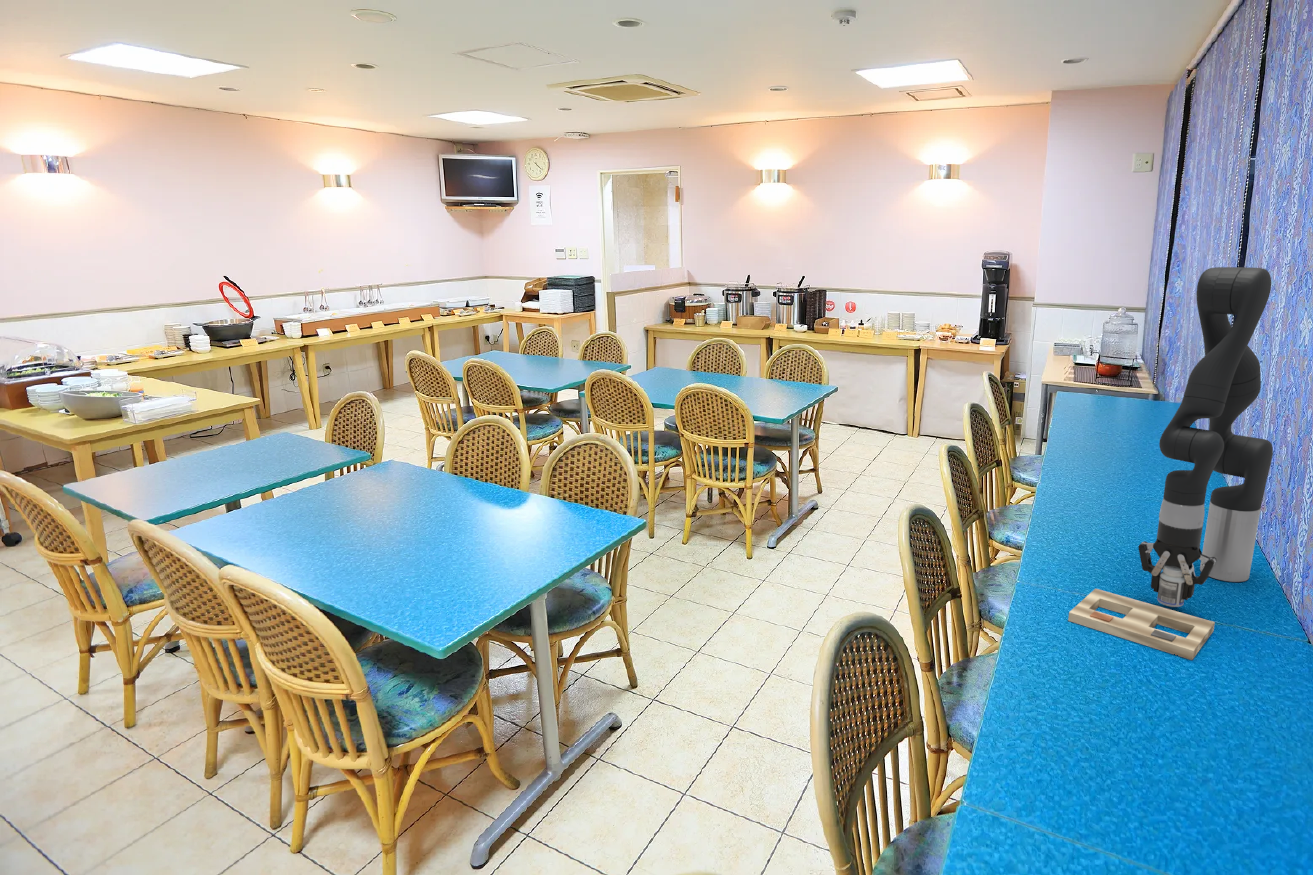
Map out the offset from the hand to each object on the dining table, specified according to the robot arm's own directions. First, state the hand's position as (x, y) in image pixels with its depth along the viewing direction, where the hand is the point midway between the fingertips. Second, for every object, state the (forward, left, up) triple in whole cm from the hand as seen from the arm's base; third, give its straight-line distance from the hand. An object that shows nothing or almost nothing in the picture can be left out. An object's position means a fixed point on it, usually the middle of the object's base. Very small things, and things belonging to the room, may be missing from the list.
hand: (1171, 594), depth 159 cm
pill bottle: (0, 0, -2) cm, 2 cm away
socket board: (+12, -2, -3) cm, 13 cm away
